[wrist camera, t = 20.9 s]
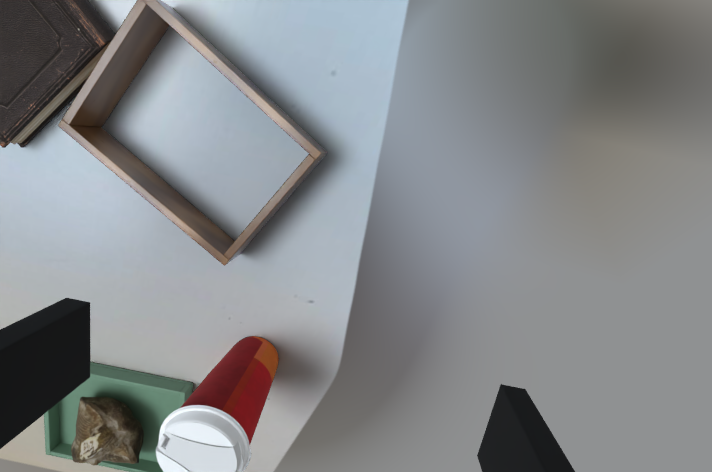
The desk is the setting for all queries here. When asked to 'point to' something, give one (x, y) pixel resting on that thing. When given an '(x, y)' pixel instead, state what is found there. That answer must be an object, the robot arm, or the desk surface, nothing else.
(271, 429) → the desk surface
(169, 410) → the tray
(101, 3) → the desk surface
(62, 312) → the robot arm
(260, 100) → the rectangular frame
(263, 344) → the paper cup
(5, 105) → the hardcover book
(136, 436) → the fossilized seashell
